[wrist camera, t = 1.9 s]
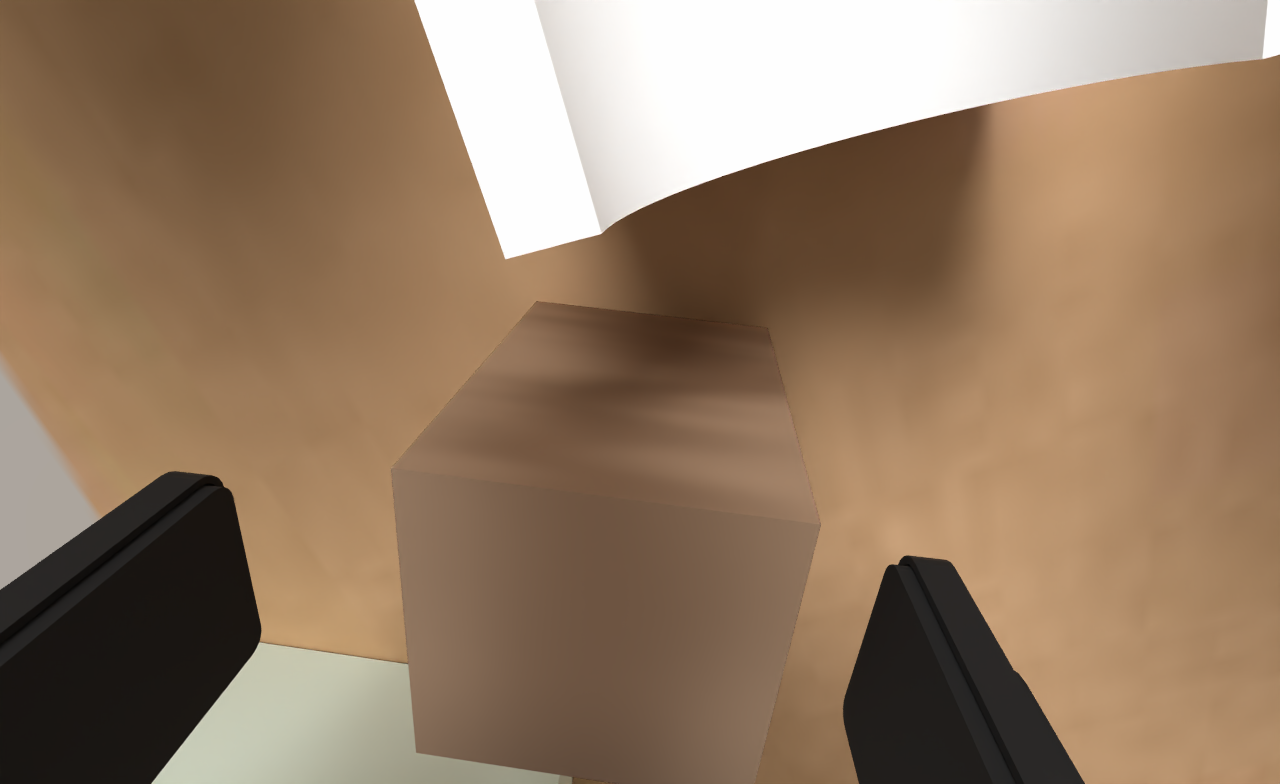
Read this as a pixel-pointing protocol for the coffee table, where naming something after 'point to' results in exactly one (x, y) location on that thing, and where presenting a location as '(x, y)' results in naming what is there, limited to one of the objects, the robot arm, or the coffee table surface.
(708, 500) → the walnut block
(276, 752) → the sage box
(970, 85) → the bracket
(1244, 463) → the coffee table surface
